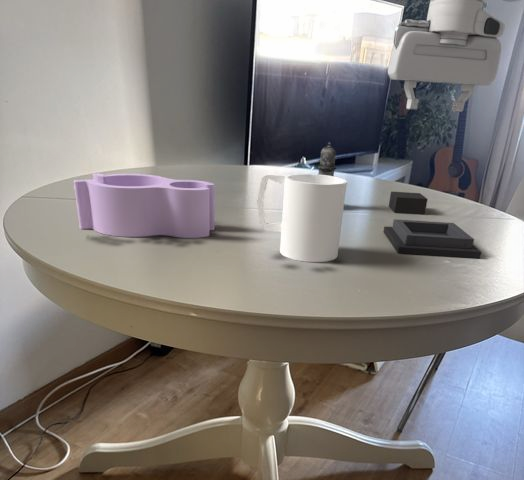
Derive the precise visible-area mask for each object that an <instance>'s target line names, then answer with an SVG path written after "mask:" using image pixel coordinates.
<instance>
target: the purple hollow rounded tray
mask: <svg viewBox="0 0 524 480" xmlns="http://www.w3.org/2000/svg"><path fill="white" fill-rule="evenodd" d="M73 188H74V195H75V196H74V197H75V202H76V203H75V204H76V211H77V218H78V226H79V229H80V230H90V229H91V230H94V231H95V232H97V233H99V234H102V235H105V236H113V237H121V238H122V237H123V238H139V237H152V236H168V237H169V236H170V237H175V238H181V239H201V238H206V237H210V231H214V230H215V213H216V212H215V211H216V210H215V197H216V196H215V192H216V191H215V189H216V187H215V183H213V182H210V181H203V180H195V179H194V180H193V179H173V178H169V177H164V176H160V175H154V174H144V173H110V174H103V173H92V179H74V180H73Z"/></svg>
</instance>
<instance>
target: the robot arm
mask: <svg viewBox="0 0 524 480" xmlns="http://www.w3.org/2000/svg"><path fill="white" fill-rule="evenodd" d="M484 1H485V0H430V1H429V6H428V10H427V16H426V20H423V19H418V20H417V19H416V20H415V19H412V18H406V19H405V20H403V21H401V22H400V23H398V24H397V26H396V27H395V30H394V34H393V35H394V36H393V48H392V51H391V55H390V59H389V63H388V67H387V75H388V77H389V80H391V81H392V80H395V81H404V83H403V84H404V85H403V90H404V92H405V96H406V98H407V101H406V107H405V108H406V110H418V108H419V103H420V98H416V96H415V91H414V89H416V88H417V84H418V82H422V83H423V82H424V83H438V84H451V85H452V84H453V85H461V87H460V91H461V92H462V93H461V94H460V96H459V97H458V99H457V100H453V101H452V107H451V112H456V113H463V111H464V108H465V104H466V102H467V101H468V99H470V97H471V95H472V94H473V93H474V90H475V86H483V87H484V86H485V87H486V86H487V87H488V86H490V85H491V84H492V83H493V82H494V81H495V79H496V77H497V73H498V69H499V65H500V61H501V53H502V44H501V41H500V39H498V38H500V37H502V36H503V34H504V32H505V28H506V26H505V25H506V24H505V23H504V22H503V21H502V20H500V19H498V18H496V17H494V16H493V15H491V14H489V13H488V12H487V11H485V10H484V9H483V6H484ZM503 1H504V2H509V3H512V2H520V0H503Z"/></svg>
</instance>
